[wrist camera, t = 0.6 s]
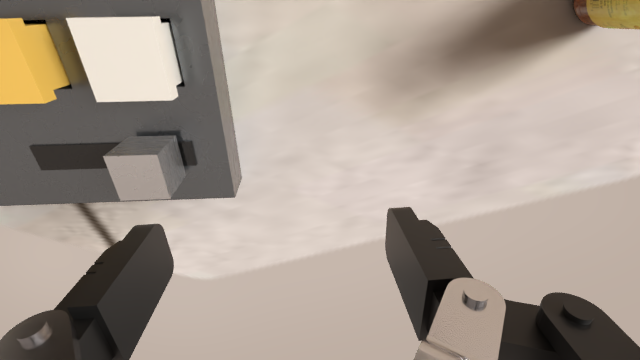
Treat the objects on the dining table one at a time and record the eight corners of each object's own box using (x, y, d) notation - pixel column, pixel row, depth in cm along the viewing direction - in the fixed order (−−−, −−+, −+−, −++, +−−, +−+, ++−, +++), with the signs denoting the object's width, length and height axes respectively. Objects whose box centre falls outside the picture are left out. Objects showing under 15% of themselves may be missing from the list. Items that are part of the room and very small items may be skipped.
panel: (-146, -9, 25) (-224, -11, 21) (212, -12, 26) (197, -14, 22) (-20, 186, 33) (-59, 209, 30) (241, 177, 35) (234, 198, 31)
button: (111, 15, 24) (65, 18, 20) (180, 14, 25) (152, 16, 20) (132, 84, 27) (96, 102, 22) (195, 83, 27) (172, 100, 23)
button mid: (-7, 16, 24) (-83, 19, 19) (64, 15, 24) (6, 18, 20) (26, 87, 27) (-33, 105, 22) (90, 85, 27) (45, 103, 22)
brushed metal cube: (128, 136, 27) (102, 156, 23) (175, 135, 27) (157, 154, 23) (142, 176, 29) (120, 200, 25) (186, 175, 29) (170, 198, 25)
